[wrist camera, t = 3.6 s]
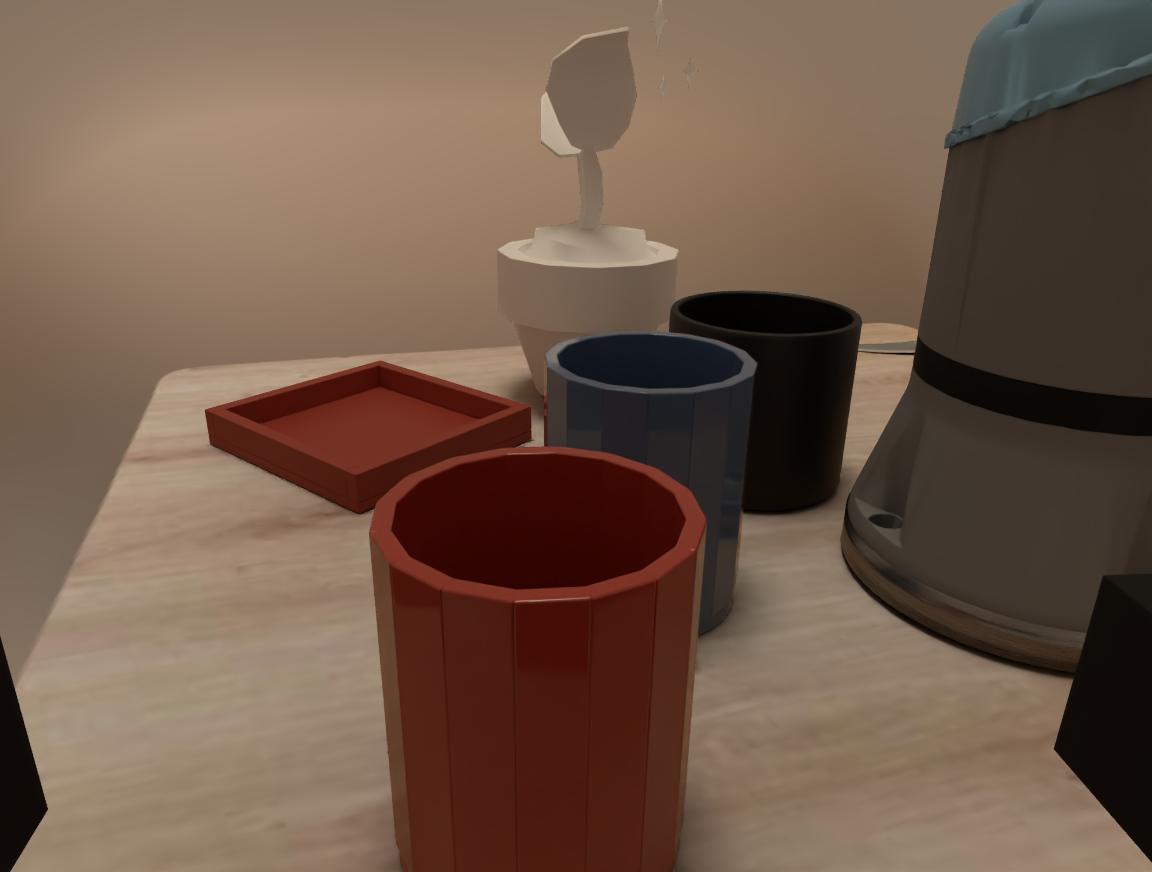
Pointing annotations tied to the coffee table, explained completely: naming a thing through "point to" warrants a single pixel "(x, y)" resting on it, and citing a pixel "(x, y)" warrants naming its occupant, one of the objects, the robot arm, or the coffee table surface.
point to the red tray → (364, 429)
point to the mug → (786, 386)
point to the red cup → (538, 660)
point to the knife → (889, 347)
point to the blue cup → (664, 426)
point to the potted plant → (587, 216)
